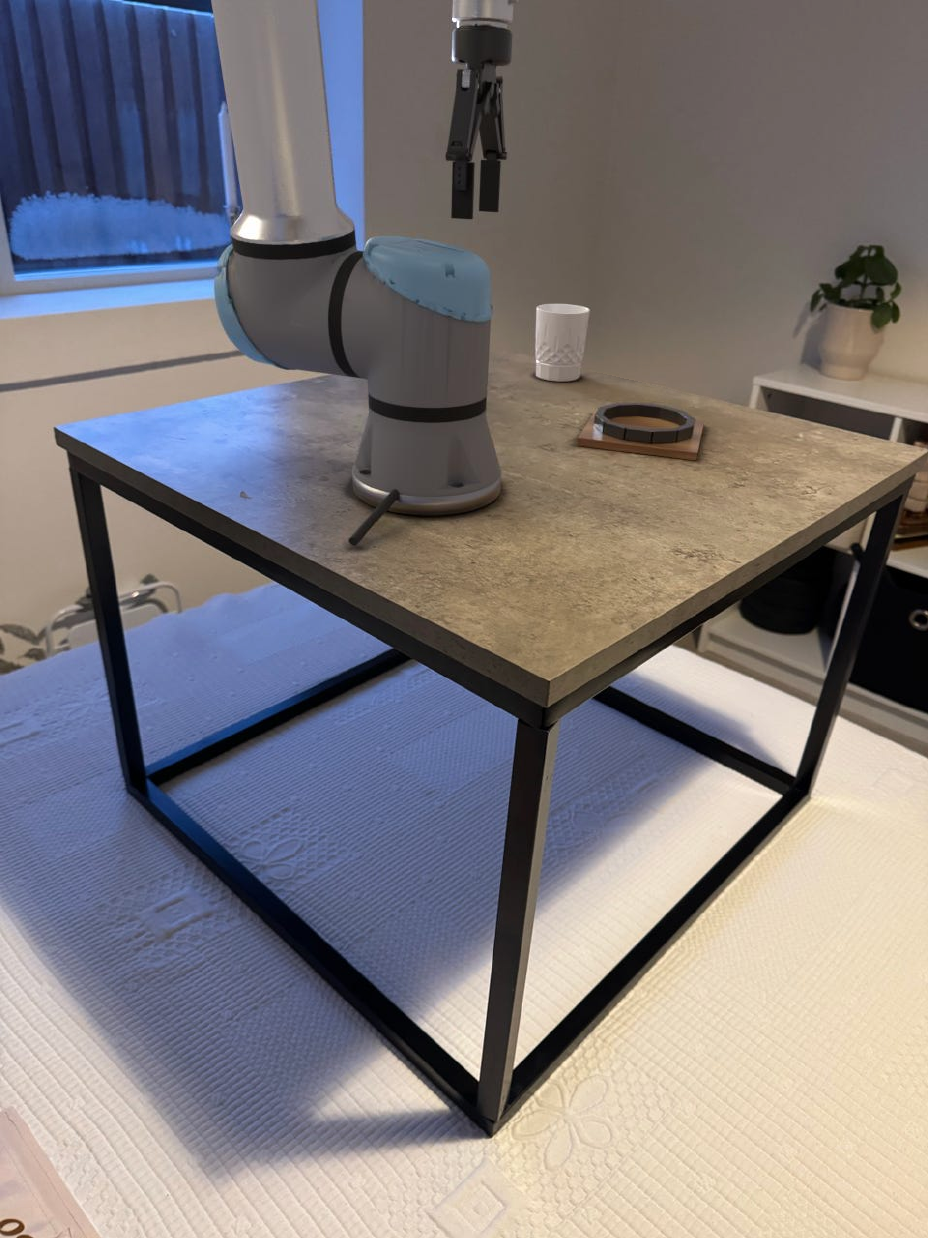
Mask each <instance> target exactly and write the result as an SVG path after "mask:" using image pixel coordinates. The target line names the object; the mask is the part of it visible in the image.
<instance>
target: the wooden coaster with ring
mask: <svg viewBox="0 0 928 1238" xmlns="http://www.w3.org/2000/svg"><path fill="white" fill-rule="evenodd" d="M704 426H705V419H702V418H695V417H694V416H693V415H691V414H689V413H688V412H686V411H684V410H682V409H678V408H673V407H670V406H666V405H662V404H654V403H644V402H620V403H618V402H617V403H616V402H615V403H611V404H608V405H603V406H600V407H596V408H595V410H594V412H593V413H592V414H591V416H590V418H589V419H588V421H587V423H586V424H585V426H584V427H583V428H582V430H581V432H580V433H579V435H578V437H577V440H576V441H577V442H576V446H577V447H586V448H587V447H588V448H592V449H602V450H608V451H609V450H610V451H619V452H627V453H632V454H641V455H648V456H658V457H666V458H673V459H679V460H680V459H681V460H690V461H696V460H697V458H698V453H699V448H700V443H701V439H702V434H703V431H704Z"/></svg>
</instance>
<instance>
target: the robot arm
mask: <svg viewBox="0 0 928 1238" xmlns="http://www.w3.org/2000/svg"><path fill="white" fill-rule="evenodd" d="M518 2H519V0H452V22H453V23H454V24H456V27H454V29H453V30H452V32H451V33H452V37H451V39H452V40H451V41H452V42H451V60H452V62H453V63H454V64H456V65H461V66H462V65H463V66H465V69H464V68H458V69H457V70H456V82H455V93H454V101H453V106H452V107H453V108H452V115H451V121H450V128H449V135H448V142H447V147H446V151H445V161H446V162H452V166H451V167H452V170H451V172H452V174H451V208H450V209H451V214H450V215H451V217H450V218H451V219H458V220H473V219H474V199H475V198H474V197H475V196H474V195H475V168H476V165H475V164H476V163H475V162H474V161H473V162H472V160H473V158H474V154H475V148H476V144H477V140H478V136H479V138H480V144H481V150H482V157H483V159H480V170H479V199H478V212H485V213H486V212H487V213H499V208H500V190H501V189H500V186H501V165H502V162H501V161H507V159H508V151H507V149H506V135H505V118H504V101H503V100H504V99H503V89H504V88H503V87H504V79H503V76H502V75H497V71H496V69H497V67H507V66H508V65H510V64H511V62H512V55H513V54H512V53H513V51H512V50H513V33H512V30H511V29H509V28H508V26H511V25H512V23H514V4H517V3H518ZM210 3H211V8H212V15H213V21H214V27H215V34H216V41H217V47H218V54H219V61H220V66H221V73H222V80H223V86H224V93H225V99H226V107H227V113H228V118H229V125H230V131H231V138H232V145H233V151H234V158H235V164H236V171H237V178H238V183H239V190H240V197H241V203H242V209H241V213H240V214H239V216H238V217H237V219H236V220H235V221H234V222H233V224H232V226H231V227H230V229H229V231H230V233H229V234H230V241H231V244H229V245H228V246H227V247H226V248H225V249H224V250H223V252H222V253H221V255H220V256H219V259H218V261H217V266H216V269H217V271H218V273H219V275H216V276H215V277H214V280H213V282H214V283H213V292H214V301H215V302H214V303H215V308H216V312H217V315H218V318H219V322H220V323H221V326H222V328H223V331H224V332H225V334H226V336H227V338H228V339H229V341H230V342H231V343H232V345H233V346H234V347H235V349H237V350H238V351H239V352H240V353H242V354H243V355H245V356H246V357H247V358H248V359H250V360H252V361H253V362H254V361H255V362H257V363H259V364H260V363H261V364H265V365H271V366H274V367H276V368H277V369H281V370H286V371H291V370H292V371H303V372H304V371H305V372H311V373H319V374H326V375H331V376H332V375H333V376H340V377H348V378H354V379H355V378H356V379H362V380H363V379H364V380H367V390H368V391H367V392H368V396H367V397H368V413H367V414H368V415H367V418H366V422H365V425H364V429H363V432H362V435H361V439H360V443H359V445H358V449H357V452H356V455H355V459H354V462H353V465H352V468H351V480H352V483H351V484H352V491H353V493H354V494H355V496H356V497H357V498H358V499H359V500H361V501H362V502H364V503H366V504H368V505H370V506H372V507H375V508H374V509H373V511H372V512H371V513H370V514H369V515H368V517H366V518H365V520H364V521H363V522H362V523H361V524H360V525H359V526H358V528H357V529H355V531H354V532H353V533H352V534H351V535H350V536H349V538H348V539H347V540H348V541H347V542H348V543H349V545H350V546H352V547H355V546H357V545H359V543H360V542H361V540H363V539H364V537H365V536H366V535H367V534H368V533H369V531H370V530H371V529H372V528H373V527H374V526H375V525H376V523H377V522H378V521H379V520H380V519H381V518H382V517H383V515H384V514H386V512H387V511H388V512H393V513H399V514H405V515H416V516H445V515H453V514H455V515H456V514H461V513H467V512H470V511H474V510H477V509H480V508H483V507H485V506H487V505H489V504H491V503H493V502H494V501H495V500H496V499H497V498H498V497H499V496H500V495H501V494H500V493H501V484H502V470H501V466H500V462H499V460H498V455H497V451H496V448H495V444H494V440H493V438H492V433H491V429H490V426H489V423H488V417H487V405H488V404H487V399H488V387H489V386H488V385H489V384H488V383H489V367H490V366H489V365H490V351H491V349H490V348H491V330H492V329H491V328H492V318H493V315H494V307H493V304H492V274H491V271H490V268H489V265H488V264H487V263H486V261H485V260H484V258H482V257H481V256H479V255H477V254H476V253H474V252H472V251H470V250H467V249H465V248H463V247H460V246H458V245H457V246H456V245H453V244H450V243H445V242H441V241H436V240H431V239H425V238H419V237H416V238H414V237H408V236H402V235H380V236H379V235H377V236H373V237H371V238H369V239H368V240H367V241H366V243H365V245H364V248H363V250H358V247H357V240H356V226H355V222H354V221H353V219H352V218H350V217H349V215H348V214H347V213H345V212H344V210H342V209H341V208H340V207H339V205H338V203H337V194H336V184H335V174H334V164H333V153H332V151H333V150H332V143H331V133H330V132H331V130H330V121H329V112H328V111H329V110H328V101H327V100H328V99H327V90H326V79H325V69H324V57H323V47H322V36H321V26H320V15H319V5H318V0H210Z"/></svg>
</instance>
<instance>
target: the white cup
mask: <svg viewBox="0 0 928 1238" xmlns="http://www.w3.org/2000/svg"><path fill="white" fill-rule="evenodd" d="M590 314H591V310H590V308H588V307H586V306H582V305H577V304H570V303H569V304H568V303H545V304H544V303H543V304H540V305H537V306H536V309H535V346H534V348H535V353H534V354H535V355H534V356H535V377H537V378H538V379H541V380H544V381H549V382H556V383H557V382H558V383H559V382H573V381H574V382H575V381H576V380H578V379H580V376H581V367H582V361H583V358H584V353H585V348H586V341H587V333H588V326H589V320H590Z"/></svg>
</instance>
